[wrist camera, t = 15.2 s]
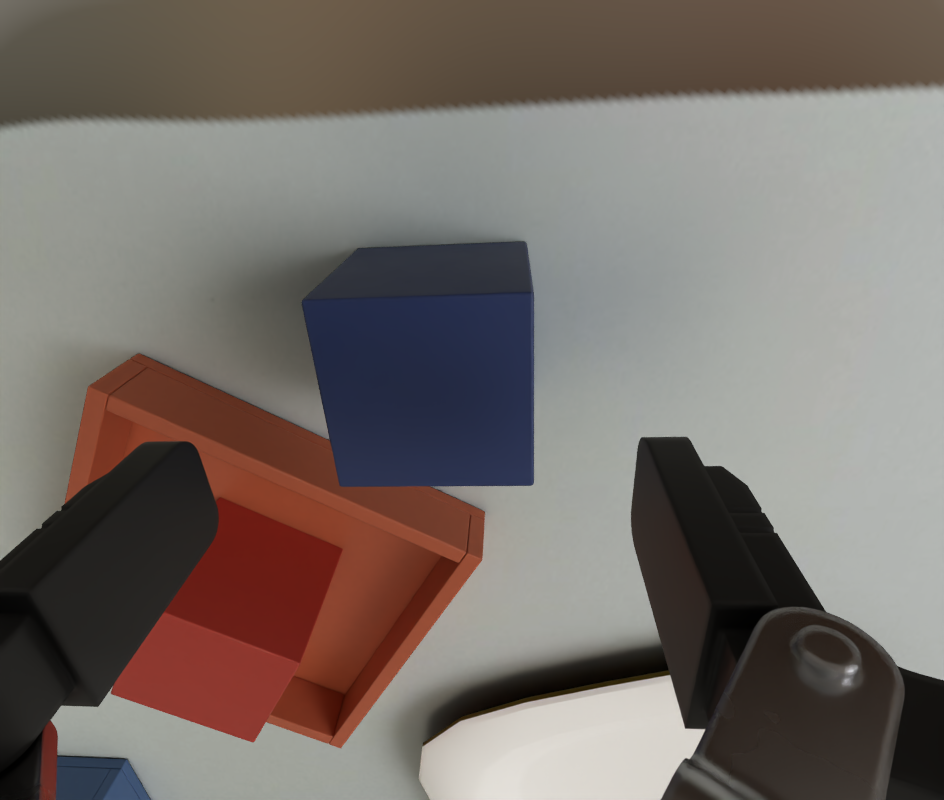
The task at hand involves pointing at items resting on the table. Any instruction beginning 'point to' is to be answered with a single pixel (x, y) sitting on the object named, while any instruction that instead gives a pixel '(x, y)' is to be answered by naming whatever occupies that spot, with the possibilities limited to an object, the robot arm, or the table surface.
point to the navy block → (427, 365)
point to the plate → (565, 745)
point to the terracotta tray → (308, 510)
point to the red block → (234, 626)
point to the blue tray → (97, 780)
